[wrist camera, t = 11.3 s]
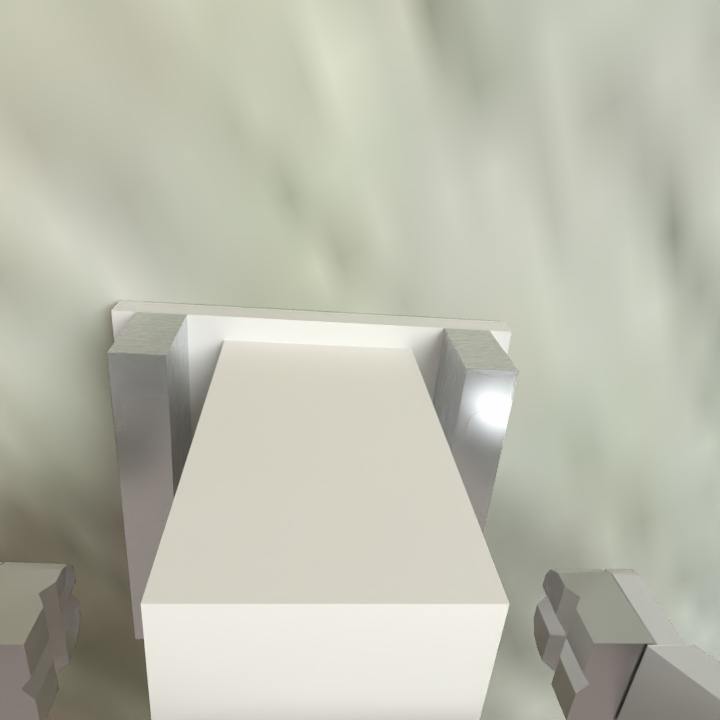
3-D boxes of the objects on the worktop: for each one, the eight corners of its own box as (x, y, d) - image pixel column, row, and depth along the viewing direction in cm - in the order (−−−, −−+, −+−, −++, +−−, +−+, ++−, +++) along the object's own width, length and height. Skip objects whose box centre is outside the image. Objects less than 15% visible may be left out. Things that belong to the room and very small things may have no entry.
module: (411, 348, 13) (510, 603, 7) (383, 560, 16) (435, 890, 9) (224, 340, 13) (140, 603, 6) (226, 558, 15) (168, 903, 9)
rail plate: (503, 321, 14) (544, 372, 11) (455, 557, 16) (480, 637, 14) (119, 300, 13) (76, 350, 10) (141, 554, 16) (111, 639, 13)
